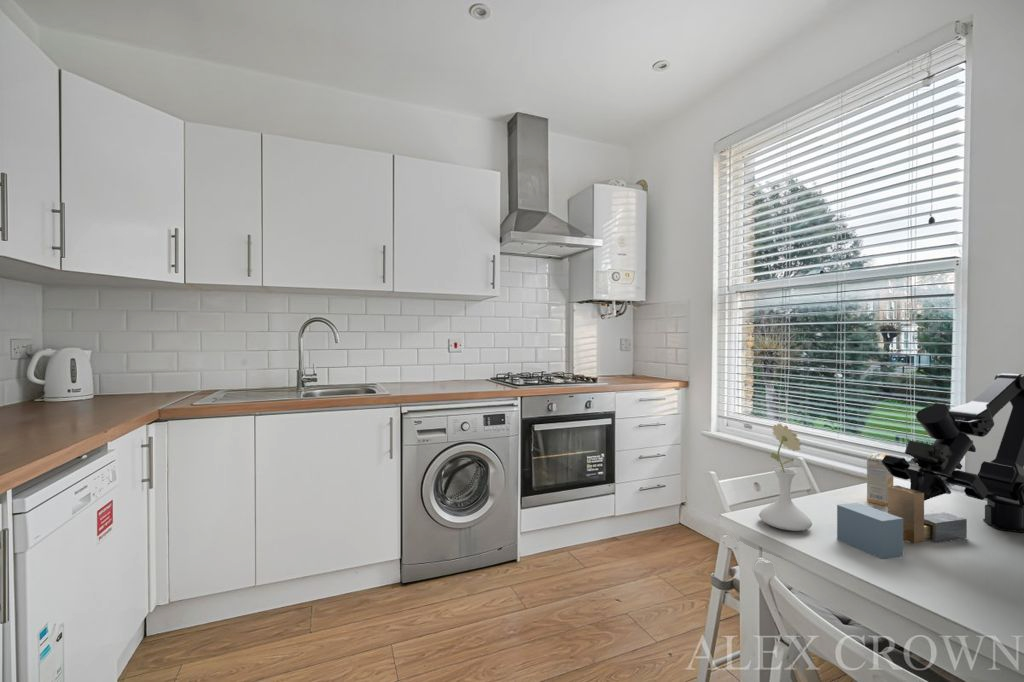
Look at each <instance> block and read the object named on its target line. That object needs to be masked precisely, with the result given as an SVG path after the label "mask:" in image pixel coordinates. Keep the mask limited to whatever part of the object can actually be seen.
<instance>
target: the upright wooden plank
mask: <svg viewBox="0 0 1024 682" xmlns="http://www.w3.org/2000/svg"><path fill="white" fill-rule="evenodd" d="M887 513H889V514H892V515H895V516H898V517H900V518H903V543H905V542H908V543H911V544H914V545H915V544H921V543H925V538H932V537H933V525H930V524H927V523H924V515H925V501H924V493H923V492H919V491H916V490H912V489H910V488H908V487H905V486H900V485H893V486H888V505H887Z"/></svg>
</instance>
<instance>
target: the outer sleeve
mask: <svg viewBox="0 0 1024 682" xmlns="http://www.w3.org/2000/svg"><path fill="white" fill-rule="evenodd" d="M967 521H968V519H967V518H966V517H961V516H958V515H955V514H952V513H949V512H946V511H943V512H936V513H935V512H933V513H929V514H928V513H927V514H924V523H927V524H930V525H933V537H932V538H925V539H924V541H929V542H931V543H934V544H939V542H940V543H946V541H947V542H952V541H953V540H954V541H960V540H959V539H961V540H966V539H965V538H967V534H968V530H967V529H968V525H967ZM951 540H952V541H951Z"/></svg>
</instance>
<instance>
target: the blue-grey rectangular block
mask: <svg viewBox="0 0 1024 682" xmlns="http://www.w3.org/2000/svg"><path fill="white" fill-rule="evenodd" d="M836 506H837V507H836V509H837V510H836V516H837V517H836V539H837V540H838V541H839V542H842V543H845V544H846V545H849V546H852V547H853V548H855V549H858V550H861V551H863V552H865V553H867V554H869V553H870V555H872V556H874V555H875V556H874V557H877V558H878V557H879V558H878V559H881V560H884V559H886V560H887V559H891V558H892V559H893V558H899V557H903V556H904V542H903V518H900V517H898V516H895V515H892V514H889V513H888V512H885V511H883V510H880V509H877V508H873V507H871V506H869V505H865V504H862V503H859V502H850V503H842V504H837V505H836Z"/></svg>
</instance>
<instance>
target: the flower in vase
mask: <svg viewBox="0 0 1024 682" xmlns="http://www.w3.org/2000/svg"><path fill="white" fill-rule="evenodd" d="M771 427H772V431H773V432H772V434H773V435H774V436H775V438H776V439H777V440H778V441H779V445H778V449H777V454H776V453H775V452H774V451H772V453H771V454H770V456H769V457H770V458H771V459H773V460H775V461H777V462H779V464H780V467H775V468H773V471H774V472H775V475H776V476H777V478H778V482H779V483H778V484H779V496H778V499H777V500H776V501H774V502H773V503H770V504H769V505H767V506H765V507H764V508H762V509H761V510H760V512H759V513H758V517H759V518H760V520H761V521H762V522H764V523H765V524H768V526H769V525H770V526H771V527H774V528H777V529H781V530H784V531H792V532H793V531H794V532H797V531H798V532H800V531H801V532H802V531H806V530H809V529H810V528H811V527H812V526H813V522H812V520H811V518H810V517H809V516H808V515H807V514H806V513H805V512H804V511H803V510H802V509H800V507H798V506H797V505H796V504H795V503H794V502H793V500H792V497H791V486H792V481H793V478H794V477H795V476H796V474H797V473H798V471H796V470H794V469H790V468H785V467H784V466H783V465H786V464H788V463H790V462H792V461H794V460H795V459H794V458H792V459H791V460H788V461H786V460H785V461H784V462H783V463H782V460H781V458H780V450H781V447H782V446H783V447H785V448H787V449H788V450H791V451H794V452H796V451H797V452H798V451H801V446H802V444H801V442H800V439H799V438H798V434H797V433H796V432H793V430H792V429H790V428H789V426H787V425H784V426H783V424H782V423H776V424H773V425H772V426H771Z"/></svg>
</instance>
